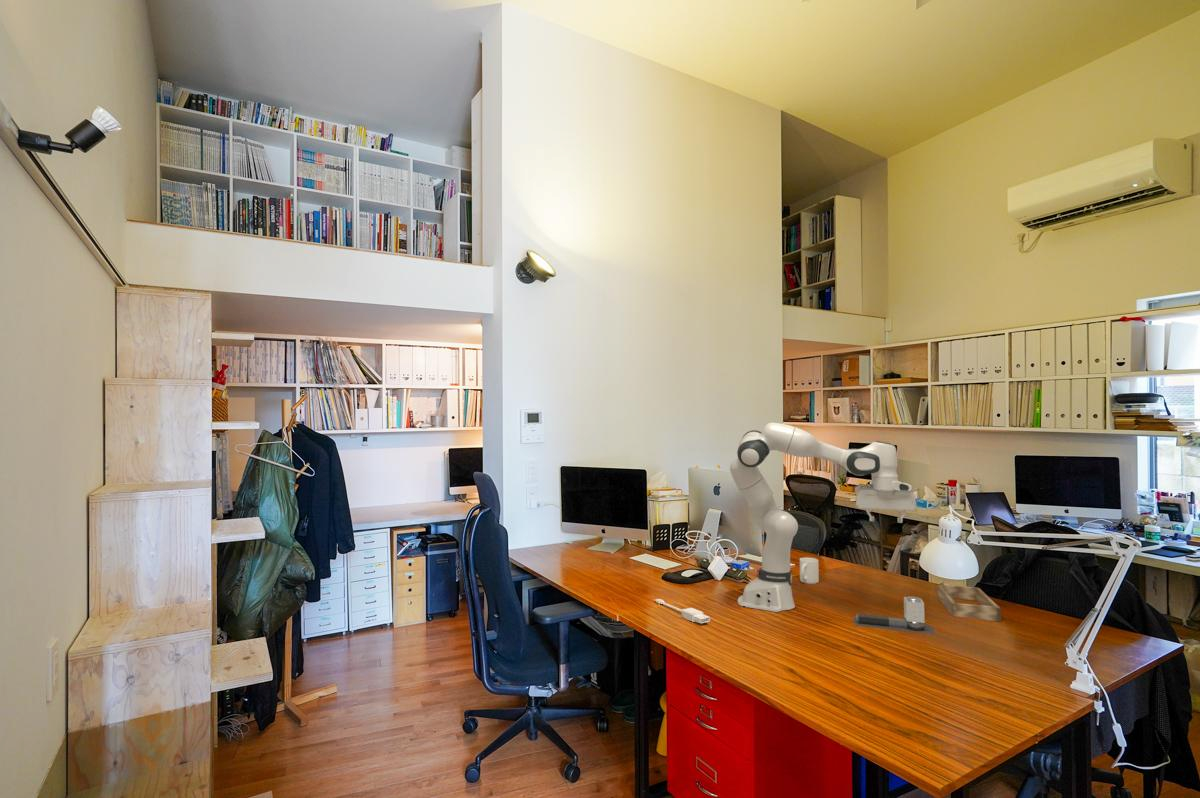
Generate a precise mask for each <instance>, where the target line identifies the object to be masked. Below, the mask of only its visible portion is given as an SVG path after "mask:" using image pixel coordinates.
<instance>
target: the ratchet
mask: <svg viewBox="0 0 1200 798" xmlns="http://www.w3.org/2000/svg"><path fill="white" fill-rule="evenodd" d="M855 615H856V616H855V618H856V621H857V623H859V624H867V625H876V626H886V627H897V628H906V629H909V630H913V631H923V630H924V625H925V623H919V622H910V621H906V619H905V618H900V617H899V618H898V617H897V618H896V617H888V616H887V615H886V616H885V615H884V616H883V615H877V614H866V613H856V614H855Z"/></svg>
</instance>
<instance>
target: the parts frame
mask: <svg viewBox="0 0 1200 798" xmlns="http://www.w3.org/2000/svg"><path fill="white" fill-rule="evenodd" d="M936 596H937V597H938V599H939V600H940V601H941V603H942V604H943V606H945V608H946V609H947V610H948V612H949V613H950V614H951V616H953V617H958V618H959V617H961V618H971V619H980V620H984V621H993V622H1000V623H1001V622H1002V613H1001V612H1002V608H1001V607H1000V606H999V605H998V604H997V603H996V602H994V601H993V599H992V598H991V597H990V596H989V595H988V594H986V593H985V592H984V591H983V590H982V589H981V588H980V587H976V586H964V585H963V586H962V585H951V584H940V583H938V584H936ZM954 599H958V600H970V601H971V600H972V601H977V603H979V605H978V604H971V603H970V604H969V603H959V602H955V600H954Z"/></svg>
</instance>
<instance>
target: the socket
mask: <svg viewBox="0 0 1200 798" xmlns="http://www.w3.org/2000/svg"><path fill="white" fill-rule="evenodd" d="M903 615H904V619H906V621H910V622H919V623H924V624H925V623H926V622H925V602H924V601H923V599H922V598H920V597H917V596H914V595H913V596H911V595H910V596H903Z"/></svg>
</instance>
